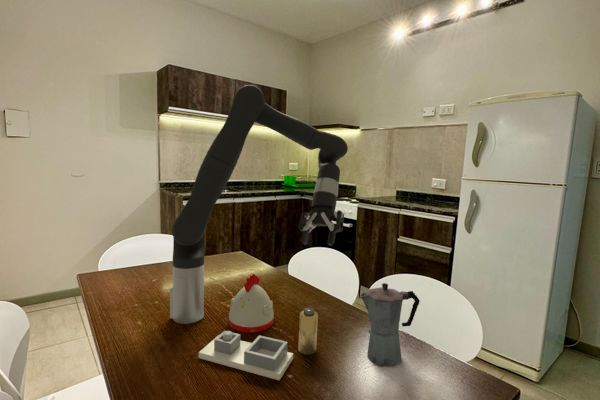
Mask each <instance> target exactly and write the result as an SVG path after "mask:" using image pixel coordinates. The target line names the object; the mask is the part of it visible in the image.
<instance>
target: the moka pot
mask: <svg viewBox="0 0 600 400" xmlns="http://www.w3.org/2000/svg"><path fill="white" fill-rule="evenodd" d="M388 287H389V284H388V283H385V282H384V283H381V287H376V288H369V289H368V290H367V291H365V292H362V293H361V294H360V295H359V298H360V299H362V301H363V304H364V306H365V308H366V311H367V313H368V322H370V323H369V325H370V329H369V330H368V333H369V337H368V338H369V339H368V345H367V346H368V347H367V354H366V355H367V358H368V360H369V361H371V362H372V363H374V364H376V365H379V366H383V367H390V366H391V367H392V366H393V367H394V366H397V365H398V364H400V363H401V362H402V351H401V343H400V333H399V329H400V321H401V314H402V306H403V301H404V300H406V301H407V300H409V299H413V304H412V308H411V311H410V313H409V317H408V320H407V321H406V322H402V323H401V326H402V327H410V326H411V325H412V322H413V321H414V317H415V316H416V312H417V309H418V307H419V304H420V302H421V301H420V299H419V297H418V296H417V294H415V292H413V290H411V291H399V290H396V289H395V288H388Z"/></svg>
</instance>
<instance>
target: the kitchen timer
mask: <svg viewBox="0 0 600 400" xmlns="http://www.w3.org/2000/svg"><path fill="white" fill-rule="evenodd" d="M260 279H261V278H260V277H259V276H257V275H256V274H254V273H252V274H251V275H249V277H246V283H243V284H244V285H243V287H242V288H241V289H240V290H239V291H238V292H237V294H236V295H235V297H232V298H231V299H230V305H229V306H230V310H229V313H228V325H229V326H230V327H231V328H232V330H236V331H238V332H242V333H258V332H261V331H264V330H267V329H270V328H271V327H272V326H273V324H274V318H275V317H274V315H275V314H274V313H275V312H274V303H273V300H271V298H270V297H269V294H268V293H267V292H266V290H264V288H263V287H262V286H260V285H259V284H260Z"/></svg>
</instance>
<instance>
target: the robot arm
mask: <svg viewBox="0 0 600 400" xmlns="http://www.w3.org/2000/svg"><path fill="white" fill-rule="evenodd" d="M255 123H256V124H259V125H262V126H264V127H265V128H266V127H267V128H268V129H271V130H273V131H274V132H276V133H278V134H280V135H282V136H284V137H285V138H287V139H289V140H290V141H293V142H294V143H296V144H298V145H299V146H301V147H303V148H305V149H307V150H309V151H314V150H316V149H319V151H318V156H317V159H318V163H317V164H318V173H317V178H316V183H315V186H314V190H313V196H312V201H311V210H310V212H306V211H304V210H303V211H302V212H301V214H300V218H299V222H298V227H297V229H298V230H300V231H301V232H302V235H301V242H302V244H303V245H306V246H307V245H309V240H310V239H309V238H310V233H311V231H312V230H314V229H315V228H316V227H328V229H329V231H328V236H327V242H326V243H327V245H328V246H331V247H332V246H333V245H334V244H335V241H336V236H337V235H336V234H337V233H342V232H343V230H344V221H345V220H344V219H345V214H344V212H343V211H342V210H337V211H336V207H337V200H338V196H339V181H340V176H341V168H340V166H338V165H337V161H339V160H340V159H342V158H343V157H344V156H346V155H347V152H348V150H349V148H348V147H349V146H348V143H347V142H346V141H345V140H344V139H343V138H342V137H341V136H339V135H336V134H334V133H331V132H326V131H322V130H319V129H317V128H316V127H313V126H312V125H310V124H308V123H306V122H304V121H303V120H301V119H299V118H297V117H294V116H291V115H288V114H285V113H283V112H281V111H280V110H279V111H278V110H277V109H275V108H273V107H272V106H270V105H269V104H268V103H267V102H266V101H265V95H264V93H263V92H262V90H261V89H260V88H259V87H258V86H256V85H253V84H248V85H243V86H241V87H240V88H238V89H237V90H236V91H235V93H234V95H233V98H232V103H231V107H230V109H229V112H228V115H227V117H226V120H225V122H224V124H223V126H222V128H221V129H220V131H219V132H218V134H217V135H216V137H214V140H213V141H212V143H211V145H210V146H209V148H208V150H207V151H206V154H205V156H204V158H203V160H202V163H201V165H200V166H199V169H198V172H197V175H196V178H195V181H194V183H193V187H192V191H191V193H190V196H189V198H188V200H187V202H186V203H185V205H184V207H183V209H182V210H181V212H180V214H179V215H177V216H176V218H175V219H174V221H173V224H172V227H171V234H172V237H173V248H172V249H173V250H172V287H171V288H170V289H169V304H170V305H169V318H170V319H172V320H173V322H175V323H177V324H181V325H182V324H183V325H188V324H193V323H197V322H199V321H201V320H202V319H203V318H204V317H205V316H204V315H205V311H204V310H205V231H206V228H207V224H208V222H209V219H210V216H211V215H212V214H211V213H212V211H213V209H214V206H215V205H216V203H217V201H218V200H219V199H220V197H221V195H222V193H223V191H224V190H225V188H226V186H227V185H228V182H229V180H230V179H231V177H232V175H233V172H234V170H235V168H236V165H237V164H238V161H239V158H240V156H241V154H242V152H243V148H244V145H245V142H246V139H247V137H248V136H249V133H250V131H251V129H252V128H253V126H254V124H255ZM334 218H335V219H336V221H335V224H334V223H333V219H334Z"/></svg>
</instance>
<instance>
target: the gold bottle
mask: <svg viewBox="0 0 600 400" xmlns="http://www.w3.org/2000/svg"><path fill="white" fill-rule="evenodd" d="M318 318H319V313H318V312H316V311H315V309H314V308H313V307H304V308H303V310H302V311H300V312H299V324H298V325H299V327H298V352H299V353H300V354H303V355H313V354H315V353H316V352H317V339H318V337H317V336H318V321H319V319H318Z"/></svg>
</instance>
